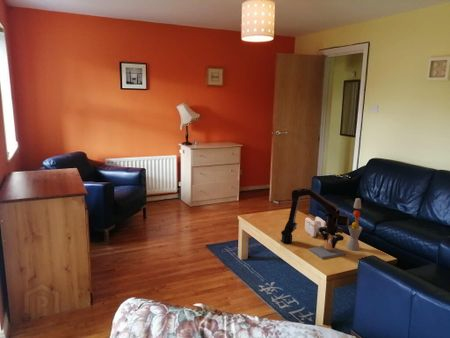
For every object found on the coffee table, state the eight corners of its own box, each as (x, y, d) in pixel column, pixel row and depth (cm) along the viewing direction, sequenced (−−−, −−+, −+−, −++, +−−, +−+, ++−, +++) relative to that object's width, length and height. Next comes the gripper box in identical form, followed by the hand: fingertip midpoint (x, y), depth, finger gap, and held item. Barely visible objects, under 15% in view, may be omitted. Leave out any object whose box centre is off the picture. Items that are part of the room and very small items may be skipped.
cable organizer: (325, 237, 257) (327, 222, 255) (312, 238, 255) (313, 223, 253) (316, 230, 272) (317, 215, 269) (303, 231, 269) (304, 216, 267)
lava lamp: (349, 244, 246) (353, 196, 239) (362, 247, 240) (367, 198, 233) (344, 248, 239) (348, 198, 232) (357, 252, 233) (362, 201, 227)
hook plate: (322, 259, 222) (323, 245, 220) (309, 250, 235) (309, 237, 233) (344, 255, 229) (346, 241, 227) (331, 246, 241) (332, 234, 239)
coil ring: (328, 250, 227) (329, 244, 226) (321, 245, 234) (322, 240, 233) (337, 248, 230) (337, 242, 229) (330, 244, 236) (331, 238, 235)
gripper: (351, 226, 223) (349, 249, 226) (332, 217, 240) (330, 239, 243) (337, 228, 219) (335, 252, 222) (318, 219, 236) (317, 241, 239)
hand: (329, 245), depth 231 cm, fingers closed on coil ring, 7 cm apart
